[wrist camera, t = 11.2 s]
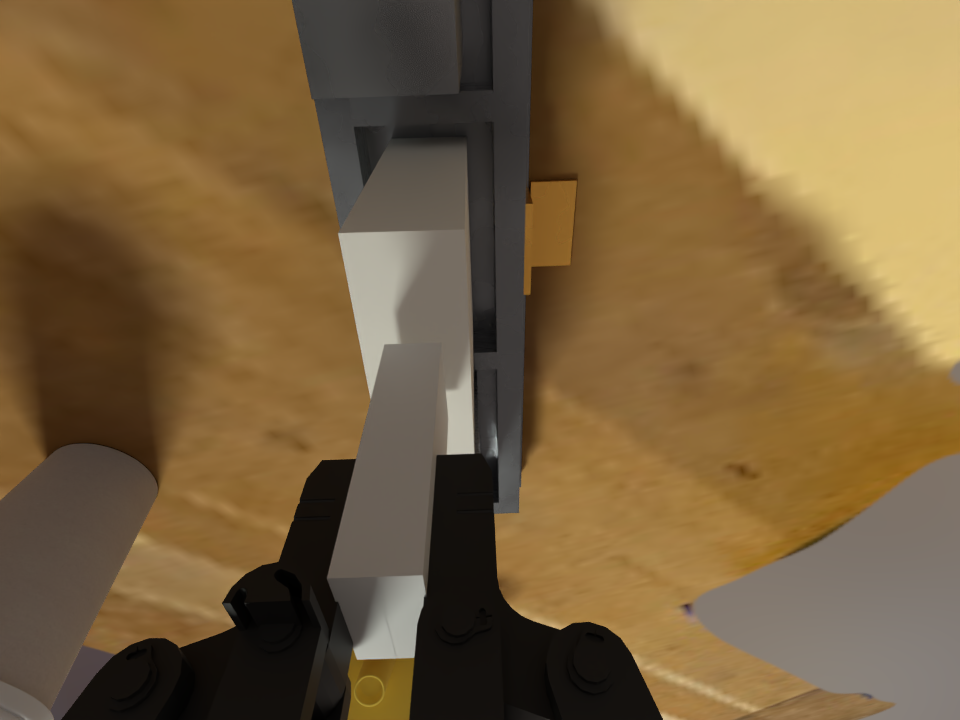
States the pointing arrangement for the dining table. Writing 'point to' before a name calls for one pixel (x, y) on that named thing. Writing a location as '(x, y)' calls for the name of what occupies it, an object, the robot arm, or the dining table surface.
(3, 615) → the coffee cup
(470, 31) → the rack
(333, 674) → the robot arm
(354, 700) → the teapot
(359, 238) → the panel
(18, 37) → the dining table surface
